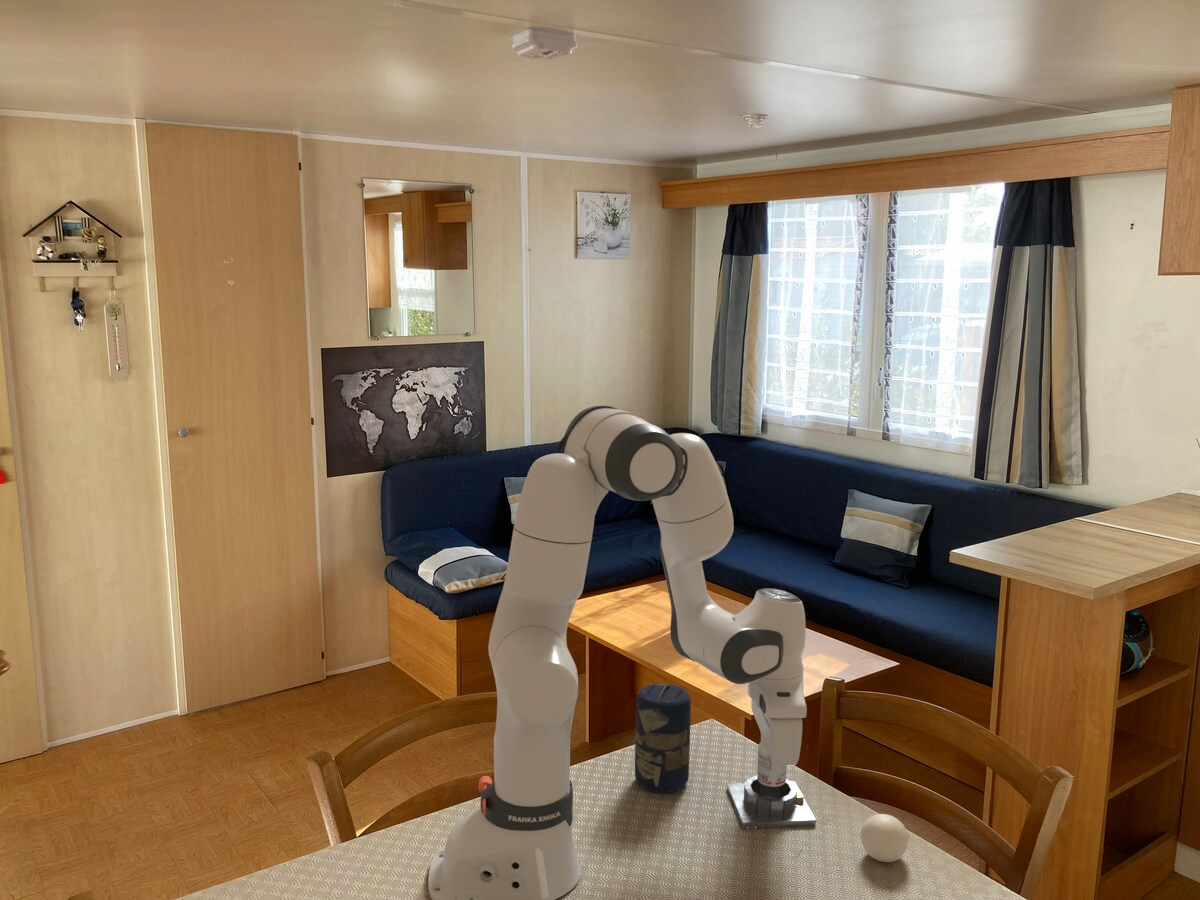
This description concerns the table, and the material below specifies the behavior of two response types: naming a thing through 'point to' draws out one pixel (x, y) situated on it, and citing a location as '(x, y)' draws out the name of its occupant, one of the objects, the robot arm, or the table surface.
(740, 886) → the table surface
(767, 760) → the pill bottle
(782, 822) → the lock socket
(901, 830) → the beige sphere
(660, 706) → the canister
